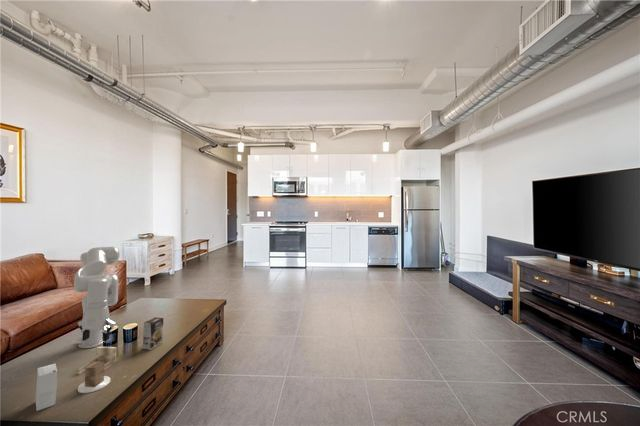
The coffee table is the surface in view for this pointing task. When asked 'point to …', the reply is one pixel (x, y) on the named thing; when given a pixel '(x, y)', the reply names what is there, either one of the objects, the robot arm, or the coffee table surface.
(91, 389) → the ceramic coaster
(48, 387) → the skincare box
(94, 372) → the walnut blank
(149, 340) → the coffee box
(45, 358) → the coffee table surface
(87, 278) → the robot arm
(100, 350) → the birch slot
